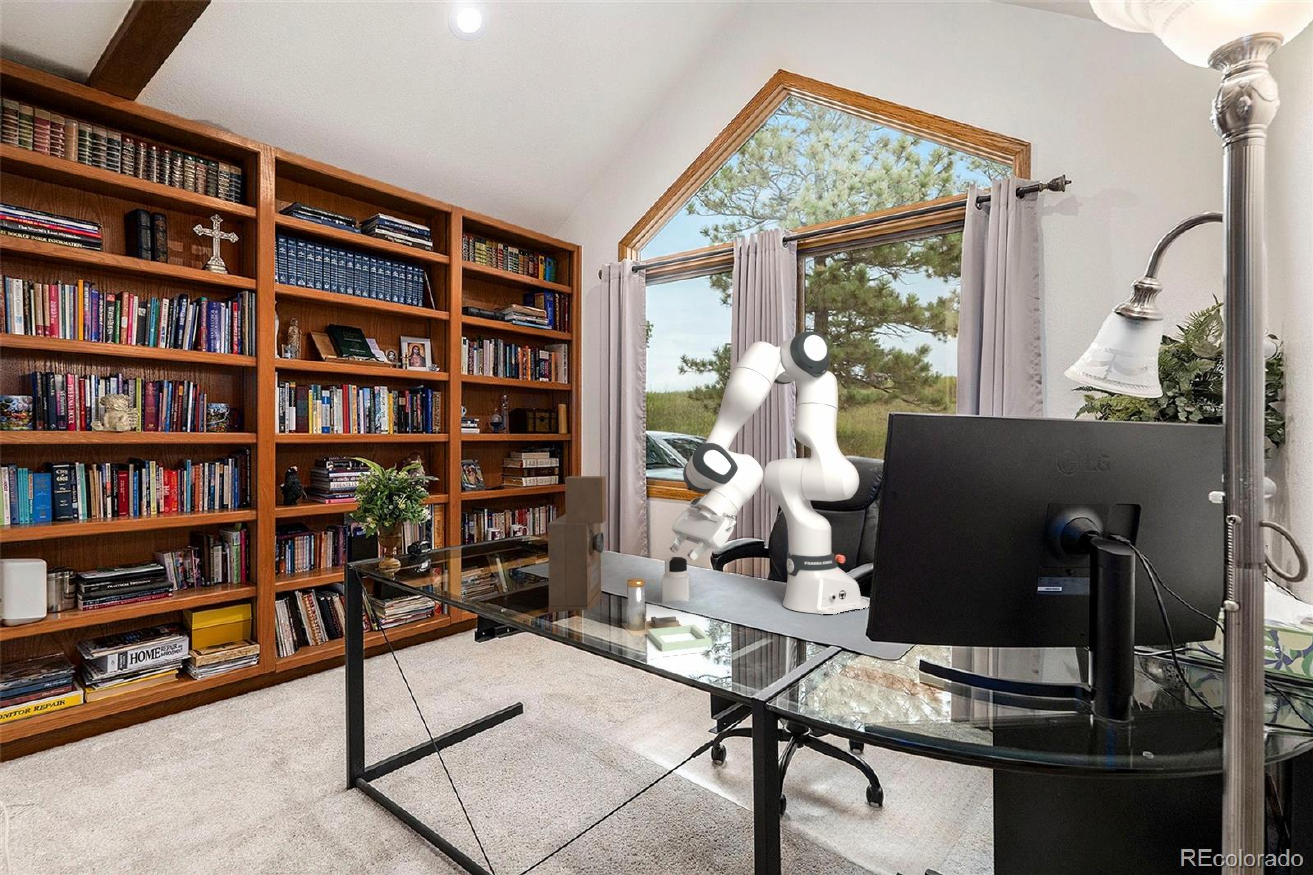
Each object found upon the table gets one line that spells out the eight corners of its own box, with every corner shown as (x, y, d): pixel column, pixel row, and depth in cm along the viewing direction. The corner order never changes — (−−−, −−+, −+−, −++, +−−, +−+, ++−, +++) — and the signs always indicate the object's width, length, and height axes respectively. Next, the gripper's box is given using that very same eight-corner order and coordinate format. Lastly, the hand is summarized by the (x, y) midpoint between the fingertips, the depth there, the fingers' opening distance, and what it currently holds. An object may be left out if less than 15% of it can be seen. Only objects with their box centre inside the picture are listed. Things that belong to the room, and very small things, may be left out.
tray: (694, 636, 150) (694, 624, 150) (711, 651, 140) (711, 639, 140) (647, 641, 147) (647, 629, 147) (662, 657, 136) (662, 644, 136)
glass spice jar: (642, 625, 155) (642, 577, 155) (647, 630, 151) (646, 581, 151) (626, 626, 154) (625, 578, 154) (630, 631, 150) (629, 582, 150)
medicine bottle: (689, 598, 184) (689, 555, 183) (688, 605, 177) (688, 560, 176) (664, 598, 184) (663, 555, 184) (662, 605, 177) (661, 560, 177)
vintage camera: (603, 614, 168) (601, 477, 168) (548, 613, 170) (546, 478, 169) (615, 596, 187) (613, 472, 187) (566, 595, 189) (564, 473, 188)
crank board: (673, 623, 160) (673, 611, 160) (686, 635, 151) (686, 622, 151) (621, 628, 157) (620, 615, 156) (631, 641, 147) (631, 627, 147)
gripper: (747, 525, 153) (711, 571, 149) (704, 514, 172) (670, 555, 168) (731, 507, 151) (693, 553, 147) (689, 498, 170) (654, 539, 166)
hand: (681, 554), depth 158 cm, fingers open, 8 cm apart
